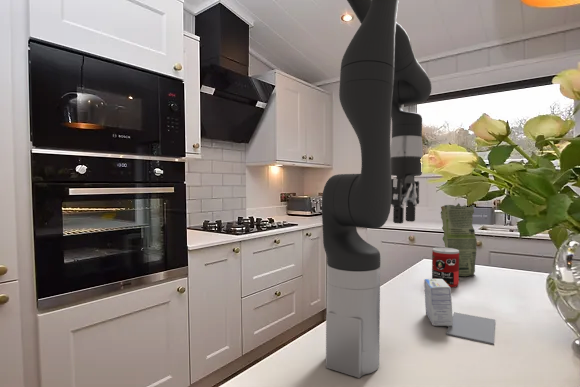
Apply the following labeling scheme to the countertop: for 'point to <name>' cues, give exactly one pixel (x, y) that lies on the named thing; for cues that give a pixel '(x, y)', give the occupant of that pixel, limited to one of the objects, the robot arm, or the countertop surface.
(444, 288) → the medicine box
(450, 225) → the pouch
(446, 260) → the canned food
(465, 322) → the mat
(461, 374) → the countertop surface
